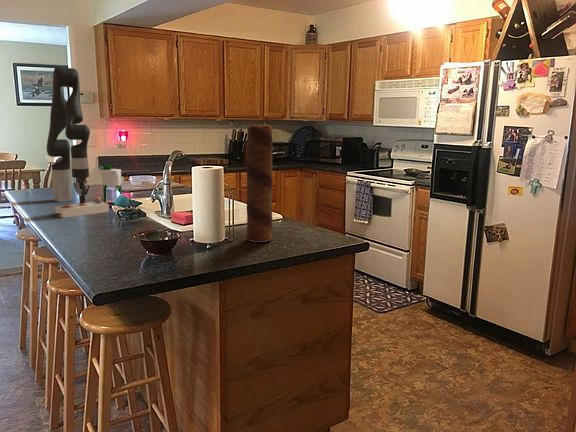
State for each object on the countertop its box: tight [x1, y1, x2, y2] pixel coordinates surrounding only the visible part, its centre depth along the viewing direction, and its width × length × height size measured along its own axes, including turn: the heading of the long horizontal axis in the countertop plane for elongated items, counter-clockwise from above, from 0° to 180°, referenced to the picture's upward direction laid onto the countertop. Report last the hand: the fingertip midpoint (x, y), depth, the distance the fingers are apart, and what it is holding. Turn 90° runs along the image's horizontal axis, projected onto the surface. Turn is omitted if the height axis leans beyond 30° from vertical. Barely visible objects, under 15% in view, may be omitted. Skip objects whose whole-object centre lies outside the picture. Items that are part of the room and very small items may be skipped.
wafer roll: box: [245, 124, 274, 241], centre depth 184 cm, size 10×11×45 cm
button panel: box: [49, 201, 110, 218], centre depth 230 cm, size 9×26×5 cm, turn 136°
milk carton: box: [101, 164, 123, 202], centre depth 259 cm, size 9×9×20 cm
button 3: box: [93, 196, 102, 203], centre depth 236 cm, size 3×3×3 cm
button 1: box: [62, 203, 71, 208], centre depth 226 cm, size 3×3×3 cm
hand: (82, 203), depth 231 cm, fingers closed
